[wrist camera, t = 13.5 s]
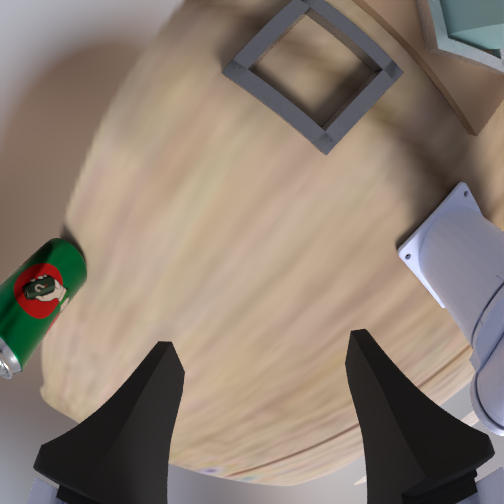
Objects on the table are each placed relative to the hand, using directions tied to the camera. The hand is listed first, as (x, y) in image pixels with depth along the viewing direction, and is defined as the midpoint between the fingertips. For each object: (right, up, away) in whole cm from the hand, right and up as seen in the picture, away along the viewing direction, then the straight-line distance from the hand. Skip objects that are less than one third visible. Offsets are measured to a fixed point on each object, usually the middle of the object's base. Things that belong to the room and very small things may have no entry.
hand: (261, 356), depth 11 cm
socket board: (+14, +21, -1) cm, 25 cm away
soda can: (-17, +3, +10) cm, 20 cm away
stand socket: (+3, +15, +3) cm, 16 cm away
